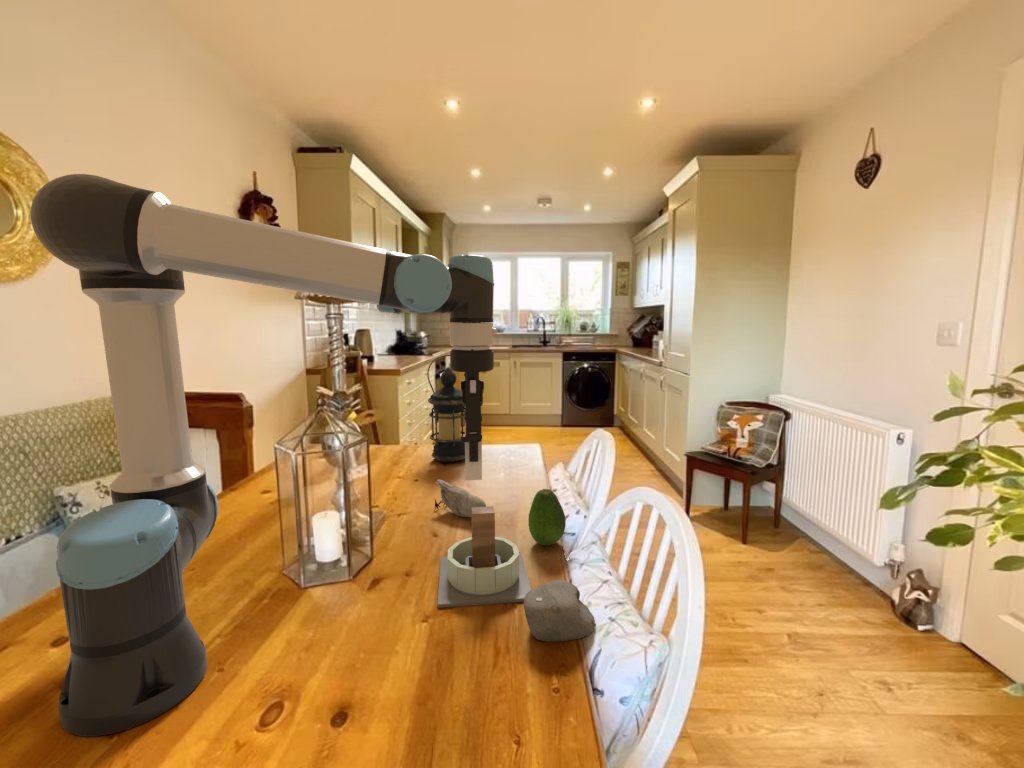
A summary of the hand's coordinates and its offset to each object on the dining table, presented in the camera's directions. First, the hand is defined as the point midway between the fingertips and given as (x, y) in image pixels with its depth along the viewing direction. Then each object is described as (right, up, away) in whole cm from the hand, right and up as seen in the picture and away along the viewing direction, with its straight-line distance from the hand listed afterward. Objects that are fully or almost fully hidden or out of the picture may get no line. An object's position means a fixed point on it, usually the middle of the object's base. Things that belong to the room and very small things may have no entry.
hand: (472, 466), depth 87 cm
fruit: (+14, -19, +16) cm, 29 cm away
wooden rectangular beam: (+2, -20, +2) cm, 20 cm away
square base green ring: (+2, -21, +2) cm, 21 cm away
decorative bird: (-5, -17, +30) cm, 35 cm away
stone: (+15, -23, -12) cm, 30 cm away
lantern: (-14, -11, +75) cm, 77 cm away
